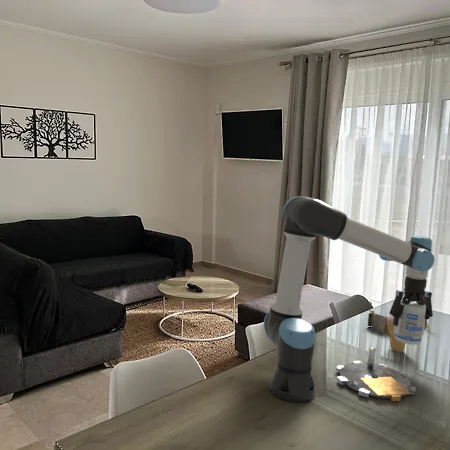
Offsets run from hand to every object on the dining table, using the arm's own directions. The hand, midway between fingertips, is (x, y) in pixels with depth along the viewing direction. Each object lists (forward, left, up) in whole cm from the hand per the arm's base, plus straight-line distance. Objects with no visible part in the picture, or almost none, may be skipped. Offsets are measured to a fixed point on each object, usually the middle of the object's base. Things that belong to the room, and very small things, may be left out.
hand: (408, 333), depth 174 cm
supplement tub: (0, 0, -3) cm, 3 cm away
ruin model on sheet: (+12, +39, -15) cm, 44 cm away
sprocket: (-18, -10, -14) cm, 25 cm away
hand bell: (+40, +47, -14) cm, 63 cm away
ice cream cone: (+8, +17, -14) cm, 23 cm away
